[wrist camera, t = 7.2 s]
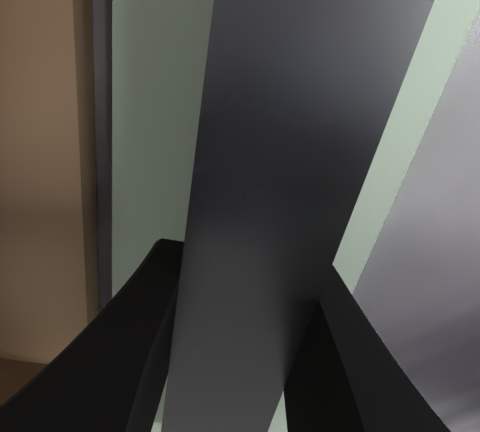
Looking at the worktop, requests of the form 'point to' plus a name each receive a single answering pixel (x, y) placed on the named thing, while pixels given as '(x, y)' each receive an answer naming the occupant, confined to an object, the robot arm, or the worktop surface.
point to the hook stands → (45, 184)
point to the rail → (275, 190)
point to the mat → (187, 120)
